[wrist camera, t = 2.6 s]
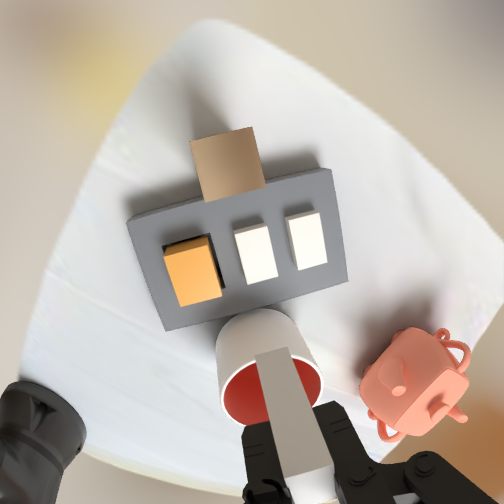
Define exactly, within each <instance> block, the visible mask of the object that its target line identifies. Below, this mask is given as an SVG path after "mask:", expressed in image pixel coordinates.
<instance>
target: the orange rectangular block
mask: <svg viewBox="0 0 504 504" xmlns="http://www.w3.org/2000/svg"><path fill="white" fill-rule="evenodd" d="M164 260H165V263H166V266H167V269H168V272H169V275H170V278H171V281H172V284H173V287H174V290H175V293H176V296H177V298H178V301H179V304H180V307H183V306H186V305H190V304H194V303H198V302H202V301H206V300H210V299H214V298H217V297H221V296H222V290H221V282H220V279H219V276H218V272H217V269H216V265H215V262H214V258H213V255H212V251H211V248H210V244H209V241H208V237H207V236H203V237H200V238H196V239H192V240H189V241H185V242H181V243H178V244H174V245H171V246H167V249H166V251H165V254H164Z"/></svg>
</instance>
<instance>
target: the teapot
mask: <svg viewBox="0 0 504 504" xmlns="http://www.w3.org/2000/svg"><path fill="white" fill-rule="evenodd" d="M443 335H445V337H444V339H441V337H442V336H443ZM449 339H450V333H449V331H448V330H447V329H445V328H441V329H439V330H438V331H436V332H435V334H434V336H432V335H431V334H429V333H427V332H425V331H424V330H422V329H419V328H415V327H409V328H407V329H406V330H405V331H403V330H400V331H398V332H396V333H395V334H394V335H393V337H392V339H391V345H390V346H389V347H388V348H387V349H386V350H385V351H384V352H383V353H382V354H381V355H380V357H379V358H378V359H377V360H376V362H375V363H374V364H371V365H369V366H367V367H366V368H365V370H364V372H363V375H364V378H363V379H362V381H361V383H360V386H359V389H360V396H361V398H362V400H363V401H364V403H365V404H366V405H367V407H368V408H369V410H368V416H369V418H370V419H372V420H377V428H378V434H379V437H380V438H381V439H382V440H383V441H385V442H388V443H392V442H397V441H399V440H400V439H402V438H403V437H404V436H405V435H406V434H409V435H414V436H422V435H424V434H425V433H427V432H428V431H429V430H430V429H431V428H432V427H434V426H435V425H436V424H437V423H438V422H439V421H440V420H441V419H442V418H443V417H444V416H445V415H446V414H447V415H449V416H451V417H452V418H454V419H455V420H457V421H458V422H460V423H465V422H466V421H467V420H468V417H467V415H465V414H464V413H463V412H462V411H461V410H460V409H459V407H458V406H457V404H456V402H457V401H458V400H459V399H460V398H461V396H462V395H463V394H464V392H465V391H466V389H467V388H468V386H469V380H468V378H467V376H466V374H465V372H464V371H465V370H466V368H467V367H468V365H469V362H470V359H471V351H470V348H469V347H468V346H467V345H466V344H465V343H463V342H460V341H454V340H449ZM446 347H450V348H458V349H461V350H463V351H464V356H463V359H462V361H461V363H459V362H458V360H457V359H456V358H455V357H454V355H453V354H452V353H451V352H450V351H449V350H448V349H447V348H446ZM374 414H375V415H374ZM386 424H387V425H388V426H389V427H391V428H392V429H394V430H396V431H398V432H397V433H396V434H395V435H393V436H391V437H388V435H387V432H386Z"/></svg>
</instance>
